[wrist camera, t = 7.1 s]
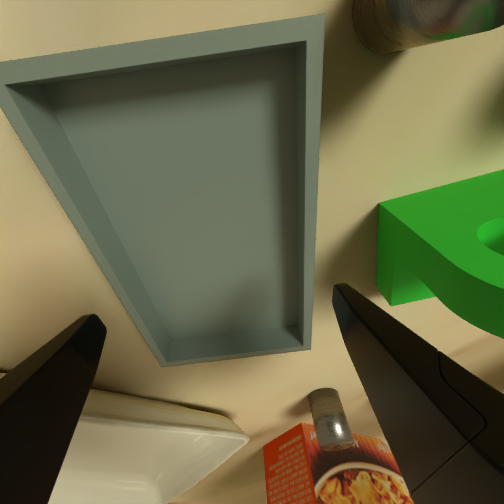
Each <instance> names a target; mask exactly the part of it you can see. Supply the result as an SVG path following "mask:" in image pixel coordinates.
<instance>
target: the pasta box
mask: <svg viewBox="0 0 504 504" xmlns="http://www.w3.org/2000/svg"><path fill="white" fill-rule="evenodd" d="M351 434H352V433H351ZM352 437H353V440H354V444H353V445H352V446H351V447H349V448H346V449H343V450H338V451H324V450H321V449H320V448H319V444H318V439H317V435H316V431H315V426H314V425H310V424H305V423H300V424H299V425H297V426H295V427H294V428H292V429H291V430H289V431H287V432H286V433H284V434H283V435H281V436H279V437H278V438H276V439H274V440H273V441H271V442H270V443H268V444H266V445H265V446H263V451H264V464H265V477H266V491H267V504H414V503H413V500H412V498H411V496H410V494H411V493H409V491H408V488H407V486H406V484H405V482H404V479H403V477H402V475H401V472H400V470H399V468H398V466H397V463H396V461H395V459H394V456H393V454H392V452H391V449H390V447H389V445H388V443H387V441H385V440H380V439H375V438H371V437H366V436H361V435H357V434H352Z"/></svg>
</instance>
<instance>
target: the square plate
mask: <svg viewBox="0 0 504 504" xmlns="http://www.w3.org/2000/svg"><path fill="white" fill-rule="evenodd" d="M6 374H7V373H1V372H0V378H2V377H3V376H4V375H6ZM248 441H249V437H248V435H246V434H245V433H244V432H243V431H242V430H241V428H240V427H239V426H238V425H237V424H235V423H234V422H233V421H232V420H230V419H228V418H226V417H224V416H222V415H218V414H214V413H210V412H204V411H199V410H194V409H190V408H187V407H185V406H182V405H178V404H174V403H169V402H163V401H157V400H152V399H146V398H141V397H135V396H130V395H124V394H118V393H113V392H107V391H101V390H96V389H90V391H89V394H88V397H87V399H86V402H85V405H84V407H83V410H82V413H81V415H80V418H79V421H78V424H77V426H76V429H75V432H74V434H73V437H72V440H71V443H70V445H69V448H68V451H67V453H66V456H65V459H64V461H63V464H62V467H61V470H60V472H59V475H58V478H57V480H56V483H55V486H54V489H53V491H52V494H51V497H50V499H49V502H48V504H168V503H169V502H171V501H172V500H174V499H176V498H177V497H179V496H180V495H182V494H183V493H185V492H186V491H187V490H189V489H190V488H192V487H193V486H194V485H196V484H197V483H198V482H200V481H201V480H202V479H203V478H205V477H206V476H207V475H209V474H210V473H211V472H212V471H214V470H215V469H216V468H217V467H219V466H220V465H221V464H222V463H224V462H225V461H226V460H227V459H229V458H230V457H231V456H232V455H233V454H235V453H236V452H237V451H238V450H239V449H241V448H242V447H243V446H244V445H245V444H246V443H247V442H248Z"/></svg>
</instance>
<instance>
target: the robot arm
mask: <svg viewBox="0 0 504 504" xmlns="http://www.w3.org/2000/svg"><path fill="white" fill-rule="evenodd" d="M332 304H333V308H334V311H335V314H336V317H337V321H338V324H339V327H340V331H341V334H342V337H343V340H344V343H345V346H346V348H347V351H348V353H349V355H350V358H351V360H352V362H353V364H354V367H355V369H356V371H357V374H358V376H359V378H360V381H361V383H362V385H363V387H364V390H365V392H366V394H367V397H368V399H369V401H370V403H371V406H372V408H373V410H374V413H375V415H376V417H377V420H378V422H379V424H380V426H381V429H382V431H383V433H384V436H385V438H386V440H387V443H388V445H389V447H390V449H391V452H392V454H393V456H394V459H395V461H396V463H397V466H398V468H399V470H400V472H401V475H402V477H403V479H404V482H405V484H406V486H407V488H408V491H409V493H411V494H410V496H411V498H412V500H413V503H414V504H504V394H503V393H501V392H499V391H498V390H496V389H495V388H493V387H492V386H490V385H489V384H487V383H486V382H484V381H482V380H481V379H479V378H478V377H476V376H475V375H473V374H472V373H470V372H469V371H467V370H466V369H465V368H463V367H462V366H460V365H459V364H457V363H456V362H455V361H453V360H452V359H450V358H449V357H448V356H446V355H445V354H443V353H442V352H441V351H438V350H437V349H436V348H435V347H434V346H432V345H431V344H429V343H428V342H427V341H425V340H424V339H423V338H421V337H420V336H418V335H417V334H416V333H414V332H413V331H411V330H410V329H409V328H407V327H406V326H405V325H403V324H402V323H400V322H399V321H398V320H396V319H395V318H393V317H392V316H391V315H389V314H388V313H387V312H385V311H384V310H382V309H381V308H380V307H378V306H377V305H375V304H374V303H373V302H371V301H370V300H369V299H367V298H366V297H364V296H363V295H362V294H360V293H359V292H357V291H356V290H355V289H353V288H352V287H351V286H349V285H348V284H346V283H341V284H335V285H334V288H333V297H332ZM106 333H107V329H106V327H105V325H104V324H103V322H102V321H101V320H100V318H99V317H98V316H97V315H96V314H89V315H83V316H82V317H80V318H79V319H78V320H76V321H75V322H74V323H72V324H71V325H70V326H68V327H67V328H66V329H65V330H63V331H62V332H61V333H59V334H58V335H57V336H55V337H54V338H53V339H51V340H50V341H49V342H47V343H46V344H45V345H44V346H42V347H41V348H40V349H38V350H37V351H36V352H34V353H33V354H32V355H30V356H29V357H28V358H27V359H25V360H24V361H23V362H21V363H20V364H19V365H17V366H16V367H15V368H13V369H12V370H11V371H10V372H8V373H7V374H6V375H4V376H3V377H2V378H0V504H48V502H49V499H50V497H51V494H52V491H53V489H54V486H55V483H56V480H57V478H58V475H59V472H60V470H61V467H62V464H63V461H64V459H65V456H66V453H67V451H68V448H69V445H70V443H71V440H72V437H73V434H74V432H75V429H76V426H77V424H78V421H79V418H80V415H81V413H82V410H83V407H84V405H85V402H86V399H87V397H88V394H89V391H90V388H91V386H92V383H93V380H94V377H95V375H96V371H97V368H98V364H99V360H100V357H101V353H102V349H103V345H104V341H105V337H106Z"/></svg>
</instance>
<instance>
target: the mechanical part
mask: <svg viewBox="0 0 504 504" xmlns="http://www.w3.org/2000/svg"><path fill="white" fill-rule="evenodd" d="M376 286H377V288H378V289H379V290H380V292H381V293H382V295H383V296H384V298H385V299H386V300H387V302H388V303H389V305H390V306H395V305H399V304H404V303H408V302H413V301H418V300H422V299H427V298H431V297H437V298H438V299H439V300H440V301H441V302H442V303H443V304H444V305H445V306H446V307H447V308H449V309H450V310H451V311H452V312H454V313H455V314H456V315H458V316H459V317H461V318H462V319H464V320H466V321H467V322H469V323H471V324H472V325H474V326H476V327H478V328H480V329H482V330H484V331H486V332H489V333H491V334H493V335H496V336H498V337H501V338H503V339H504V169H503V170H500V171H496V172H492V173H488V174H485V175H481V176H477V177H473V178H470V179H466V180H462V181H459V182H455V183H451V184H447V185H444V186H440V187H436V188H432V189H429V190H425V191H421V192H418V193H414V194H410V195H406V196H403V197H399V198H395V199H391V200H388V201H384V202H380V203H379V213H378V244H377V275H376Z"/></svg>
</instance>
